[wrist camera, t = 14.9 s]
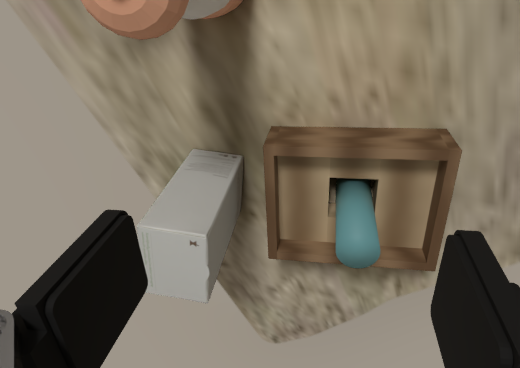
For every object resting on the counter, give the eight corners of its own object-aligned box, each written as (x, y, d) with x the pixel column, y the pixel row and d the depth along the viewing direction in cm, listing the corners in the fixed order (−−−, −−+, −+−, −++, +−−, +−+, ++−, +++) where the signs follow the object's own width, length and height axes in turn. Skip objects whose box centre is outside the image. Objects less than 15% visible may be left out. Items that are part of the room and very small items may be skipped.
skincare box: (193, 146, 45) (132, 221, 31) (248, 154, 44) (209, 234, 30) (193, 205, 49) (139, 294, 35) (243, 214, 48) (208, 307, 35)
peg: (371, 171, 42) (382, 235, 32) (368, 200, 44) (378, 270, 34) (336, 170, 43) (336, 232, 33) (335, 198, 45) (334, 266, 34)
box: (446, 128, 39) (462, 150, 34) (424, 240, 45) (435, 271, 40) (271, 126, 42) (263, 146, 37) (275, 230, 48) (268, 258, 44)
